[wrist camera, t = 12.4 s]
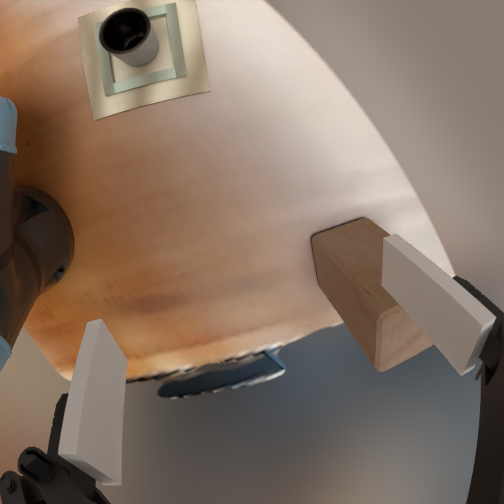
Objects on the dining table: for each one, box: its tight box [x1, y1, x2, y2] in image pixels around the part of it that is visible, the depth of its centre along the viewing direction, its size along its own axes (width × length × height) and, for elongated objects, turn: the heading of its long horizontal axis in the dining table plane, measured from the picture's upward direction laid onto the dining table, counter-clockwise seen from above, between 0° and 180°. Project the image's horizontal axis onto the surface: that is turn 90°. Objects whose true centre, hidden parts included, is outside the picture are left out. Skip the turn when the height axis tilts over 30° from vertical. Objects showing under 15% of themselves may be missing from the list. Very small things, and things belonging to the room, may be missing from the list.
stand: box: [78, 0, 210, 120], centre depth 27 cm, size 14×14×2 cm
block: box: [312, 218, 434, 372], centre depth 39 cm, size 10×10×20 cm
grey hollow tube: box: [99, 8, 159, 67], centre depth 23 cm, size 4×4×10 cm
